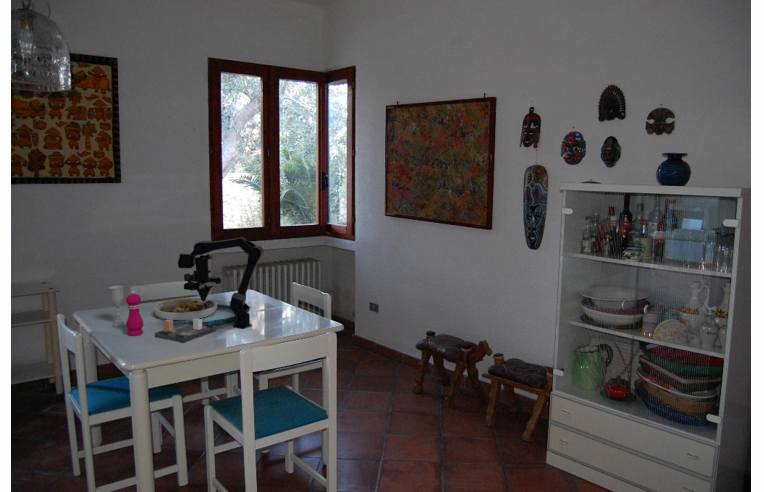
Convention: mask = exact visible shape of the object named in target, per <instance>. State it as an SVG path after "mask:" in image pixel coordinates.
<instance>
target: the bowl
mask: <svg viewBox="0 0 764 492" xmlns="http://www.w3.org/2000/svg"><path fill="white" fill-rule="evenodd" d="M217 309H218V302H216V301H215V300H213V299H209V298H206V300H205V301H204V302H203V301H202V300H201V298H199V297H198V298H197V297H191V298H190V297H187V298H186V297H185V298H184V297H182V298H177V299H170V300H166V301H163V302H159V303H157V304H156V305H154V309H153V310H154V313H155V314H156V316H157V317H158V318H159V319H162V320H165V317H169V318H171V319H173V320H189V321H192V320H191V319H195V318H201V319H204V318H203V317H205V318H207V316H208V317H210V316H211V315H213V314H215V312H216V310H217Z"/></svg>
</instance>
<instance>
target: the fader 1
mask: <svg viewBox="0 0 764 492" xmlns="http://www.w3.org/2000/svg"><path fill="white" fill-rule="evenodd" d="M173 327H174V321H173V320H165V319H164V320H163V330H164V331H172V330H173Z"/></svg>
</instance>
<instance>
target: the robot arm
mask: <svg viewBox="0 0 764 492" xmlns="http://www.w3.org/2000/svg"><path fill="white" fill-rule="evenodd" d="M237 247H239V248H240V249H241V250H242V251H243V252H244V253H245V254H247V261H246V262H247V264H246V268H245V270H244V273H243V276H242V278H241V281H240V284H239V287H238V289H237V292H234V293H233V294H231V297H230V298H231V299H230V301H229V302H228V304H229V308H230V310H231V311H232V312H233V315H234V317H233V318H234V320H233V321H234V323H233V324H234V325H232V328H237V329H238V328H239V329H246V328H249V327H251V326H253V324H252V323H250V322H251V321H250V320H251V319H250V317H251V315H250V313H249V311H250V310H251V306H249V305H248V304H247V303H246V301H247V292H248V290H249V286H250V284H251V282H252V280H253V279H252V278H253V275H254V273H255V270H256V267H257V265H258V263H259V262H260V261H261V259H262V257H263V255H264V252H265V250H264V249H263V247H262V246H260V245H256V243H253V242H252V241H250V240H248V239H246V238H245V237H243V236H240V237H237V238H231V239H223V240H218V241H217V240H216V241H215V240H214V241H213V240H201V241H198V242H197V243H195V244H194V245H193V250H192V251H191V253H179V255H178V256H179V257H178V261H177V267H178V269H193V268H194V267H195V270H193V274H190V273H185V274H184V275H183V279H184V281H185V283H183V290H186V291H197V293H198V294H199V297H200V298H201V300H202V301H203V302H204V301H205V300H206V299H207V297H208V295H209V293H210V292H211V289H212V288H213V287H214V286H213V285H211V284H212V283H214V284H215V285H218V284H221V283H222V279H221V278H220V277H219V276H210V273H211V272H212V271H211V269H210V268H209V267H210V266H209V260H212V259H213V258H214V257H213V256H212V255H211V254H210V253H211V252H213V251H218V250H225V249H230V248H237Z"/></svg>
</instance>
